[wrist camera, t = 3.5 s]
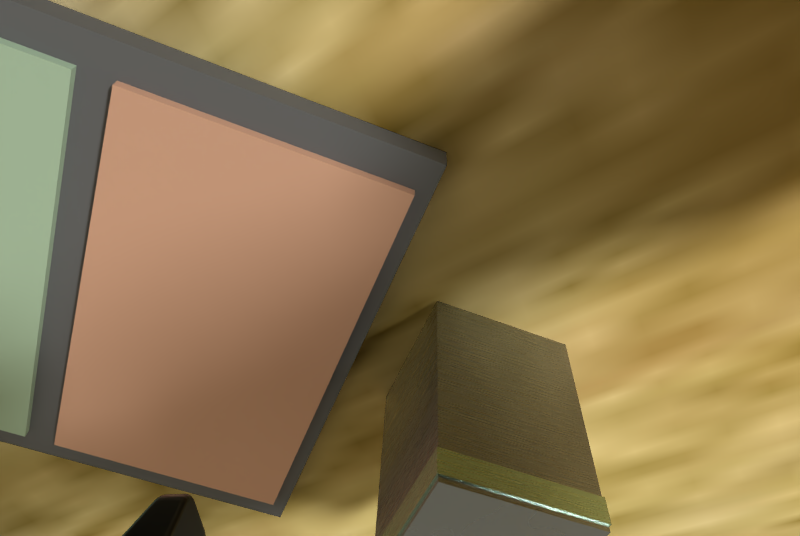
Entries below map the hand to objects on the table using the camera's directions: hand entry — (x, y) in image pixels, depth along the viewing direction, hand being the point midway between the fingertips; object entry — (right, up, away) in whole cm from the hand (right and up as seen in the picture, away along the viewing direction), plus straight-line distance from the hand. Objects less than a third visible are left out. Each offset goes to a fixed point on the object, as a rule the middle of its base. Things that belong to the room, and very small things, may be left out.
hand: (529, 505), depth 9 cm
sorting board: (-12, +3, +13) cm, 17 cm away
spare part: (+1, 0, +14) cm, 14 cm away
